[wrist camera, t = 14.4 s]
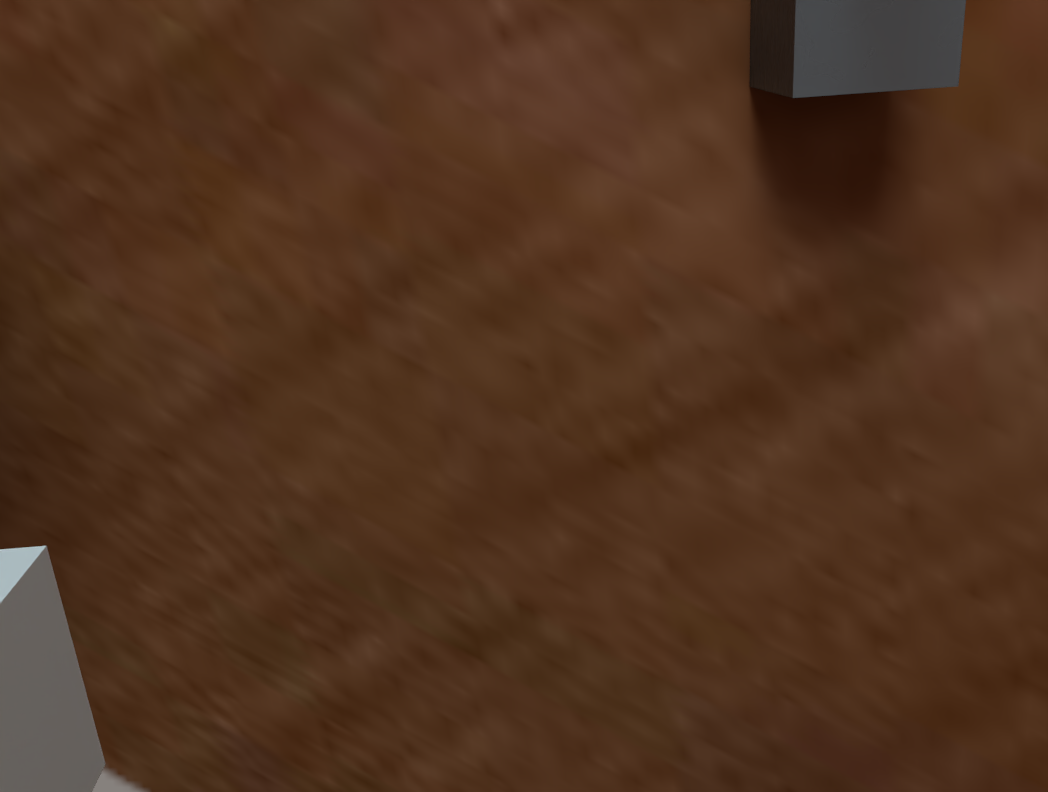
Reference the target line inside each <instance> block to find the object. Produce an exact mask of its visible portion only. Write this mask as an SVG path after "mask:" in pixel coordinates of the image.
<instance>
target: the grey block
mask: <svg viewBox="0 0 1048 792" xmlns="http://www.w3.org/2000/svg"><path fill="white" fill-rule="evenodd" d="M965 3H966V0H751V30H750V87H753V88H757V89H760V90H764V91H768V92H772V93H775V94H779V95H783V96H787V97H791V98H801V97H815V96H829V95H843V94H857V93H871V92H884V91H898V90H912V89H926V88H940V87H954V86H958V83H959V72H960V60H961V49H962V37H963V26H964V14H965Z"/></svg>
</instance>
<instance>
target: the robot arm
mask: <svg viewBox="0 0 1048 792" xmlns="http://www.w3.org/2000/svg"><path fill="white" fill-rule="evenodd" d="M104 766H105V761H104V757H103V753H102V750H101V746H100V742H99V739H98V735H97V731H96V727H95V724H94V720H93V716H92V713H91V709H90V705H89V702H88V698H87V694H86V690H85V687H84V683H83V679H82V676H81V672H80V668H79V664H78V661H77V657H76V653H75V650H74V646H73V642H72V639H71V635H70V631H69V627H68V624H67V620H66V616H65V613H64V609H63V605H62V601H61V598H60V594H59V590H58V587H57V583H56V579H55V576H54V572H53V568H52V564H51V561H50V557H49V553H48V550H47V546H38V547H25V548H13V549H0V792H92V791H93V788H94V786H95V784H96V782H97V780H98V778H99V776H100V774H101V772H102V770H103V768H104Z"/></svg>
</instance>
